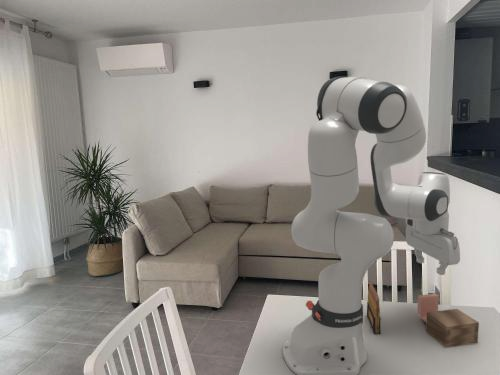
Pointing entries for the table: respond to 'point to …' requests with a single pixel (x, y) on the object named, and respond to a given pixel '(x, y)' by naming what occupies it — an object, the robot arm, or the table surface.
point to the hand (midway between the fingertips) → (430, 268)
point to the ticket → (427, 305)
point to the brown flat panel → (373, 310)
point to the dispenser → (452, 327)
